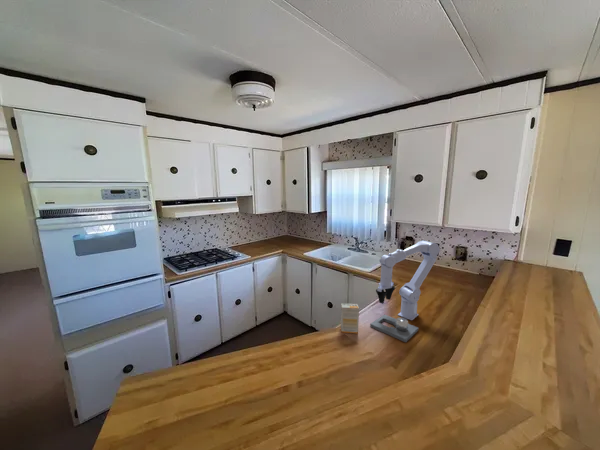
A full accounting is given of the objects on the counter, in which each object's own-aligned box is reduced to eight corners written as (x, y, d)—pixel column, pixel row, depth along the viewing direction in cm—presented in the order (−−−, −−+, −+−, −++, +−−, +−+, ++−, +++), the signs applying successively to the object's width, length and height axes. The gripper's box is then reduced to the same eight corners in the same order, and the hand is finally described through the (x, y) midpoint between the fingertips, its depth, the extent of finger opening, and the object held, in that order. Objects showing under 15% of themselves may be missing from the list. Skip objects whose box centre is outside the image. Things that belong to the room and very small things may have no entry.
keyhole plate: (384, 317, 130) (384, 314, 129) (418, 330, 117) (418, 327, 116) (370, 326, 119) (370, 323, 119) (405, 342, 106) (405, 339, 106)
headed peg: (398, 327, 119) (399, 316, 118) (409, 332, 115) (409, 320, 114) (393, 331, 115) (394, 319, 115) (404, 336, 112) (405, 324, 111)
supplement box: (356, 328, 117) (357, 303, 116) (358, 334, 112) (359, 308, 111) (340, 327, 118) (341, 302, 117) (340, 332, 113) (341, 307, 112)
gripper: (385, 272, 135) (384, 295, 136) (372, 278, 125) (371, 302, 126) (397, 275, 130) (396, 299, 131) (385, 281, 120) (383, 306, 121)
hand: (384, 301), depth 128 cm, fingers open, 7 cm apart
